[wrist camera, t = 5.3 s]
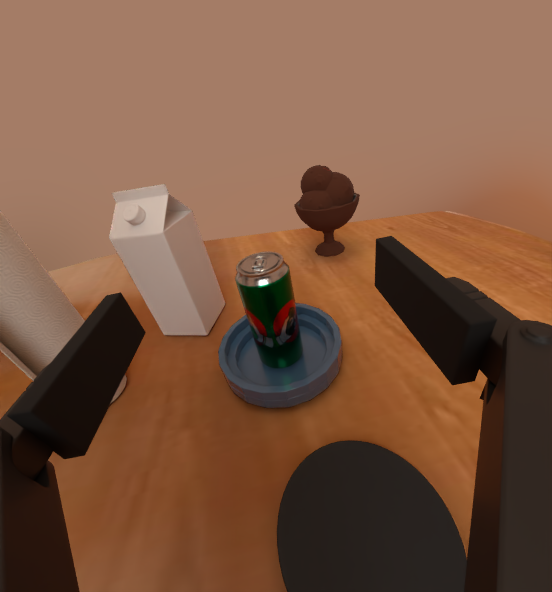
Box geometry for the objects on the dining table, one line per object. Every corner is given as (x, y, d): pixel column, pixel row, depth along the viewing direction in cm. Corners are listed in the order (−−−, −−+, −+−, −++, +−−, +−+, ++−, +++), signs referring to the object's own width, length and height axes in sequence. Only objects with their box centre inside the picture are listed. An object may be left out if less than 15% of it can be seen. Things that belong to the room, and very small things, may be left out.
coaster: (434, 788, 10) (437, 793, 10) (245, 554, 17) (241, 550, 17) (484, 512, 17) (488, 508, 16) (331, 419, 23) (330, 414, 23)
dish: (294, 438, 23) (289, 420, 21) (202, 372, 31) (194, 355, 29) (363, 340, 30) (363, 322, 29) (275, 308, 38) (271, 292, 37)
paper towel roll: (103, 369, 34) (-33, 204, 22) (138, 375, 32) (9, 196, 20) (51, 421, 29) (-165, 239, 17) (89, 432, 27) (-126, 234, 15)
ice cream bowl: (313, 269, 46) (302, 177, 37) (295, 246, 55) (283, 168, 47) (370, 253, 47) (372, 160, 38) (343, 233, 56) (340, 155, 48)
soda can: (303, 337, 32) (288, 246, 25) (304, 370, 28) (286, 272, 21) (262, 340, 33) (237, 253, 26) (257, 373, 29) (226, 280, 22)
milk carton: (186, 305, 43) (131, 185, 33) (226, 304, 42) (180, 176, 31) (163, 336, 38) (88, 202, 27) (208, 336, 36) (145, 193, 25)
